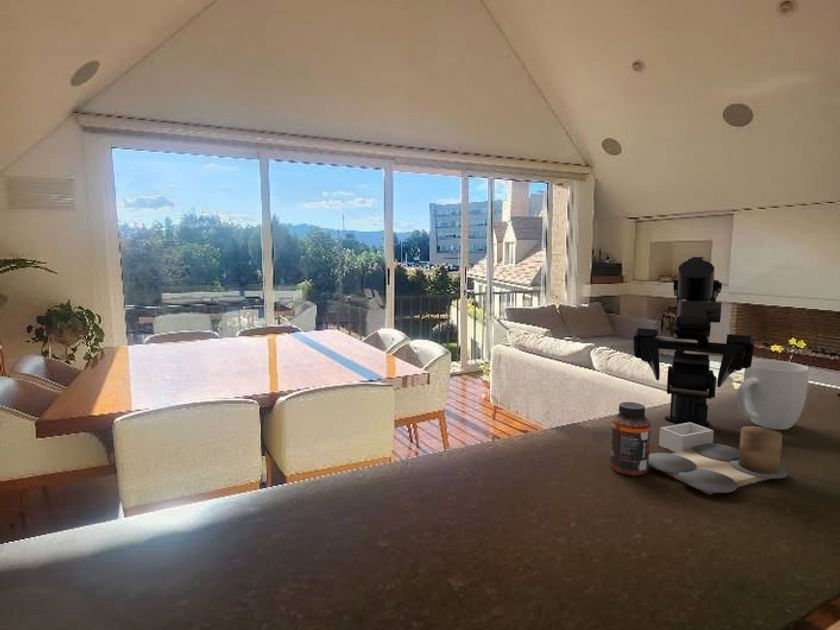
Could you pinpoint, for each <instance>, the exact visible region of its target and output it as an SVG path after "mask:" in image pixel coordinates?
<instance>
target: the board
mask: <svg viewBox="0 0 840 630" xmlns="http://www.w3.org/2000/svg"><path fill="white" fill-rule="evenodd" d="M739 440H740V441H739V448H738V449H737V448H735V447H733V446H728V445H724V444H719V443H714V442H713V443H707V444H702V445H697V446H694V449H690V450H685V451H681V452H673V453H671V452H670V453H666V452H665V453H664V452H653V453H649V461H648V467H651V468H653V469H655V470H657V471H660V470H661V471H660V472H662V471H663V472H662V473H664V472H665V473H664V474H666V475H668V476H670V477H672V478H674V479H677V480H679V481H681V482H682V483H685V485H688V486H690V487H692V488H695V489H697V490H699V491H701V492H703V493H705V494H707V495H714V494H717V493H718V494H719V493H720V494H721V493H722V494H723V493H724V494H725V493H731V492H735V491H737V489H738V488H741V487H743V486H744V487H745V486H747V485H752V484H756V483H759V482H758V481H760V482H763V481H767V480H772V479H774V480H777V479H778V480H781V479H785V478H786V477H788V475H789V472H788V470H787V468H785V467H783V466H781V465H780V463H781V455H782V454H781V453H782V442H783V434H782V433H781V432H779V431H777V430H776V429H770V428H765V427H762V426H754V425H750V426H748V425H747V426H743V427H741V428H740V438H739ZM766 479H767V480H766ZM762 480H763V481H762ZM751 483H752V484H751ZM716 492H717V493H716ZM713 493H714V494H713Z"/></svg>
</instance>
